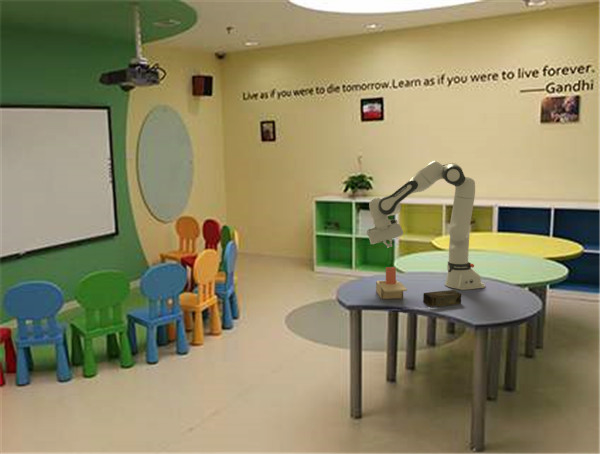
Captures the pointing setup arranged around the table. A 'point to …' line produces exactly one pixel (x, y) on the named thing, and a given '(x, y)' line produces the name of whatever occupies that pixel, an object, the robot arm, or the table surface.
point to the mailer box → (387, 294)
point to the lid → (392, 281)
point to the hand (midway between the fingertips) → (389, 247)
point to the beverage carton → (442, 298)
